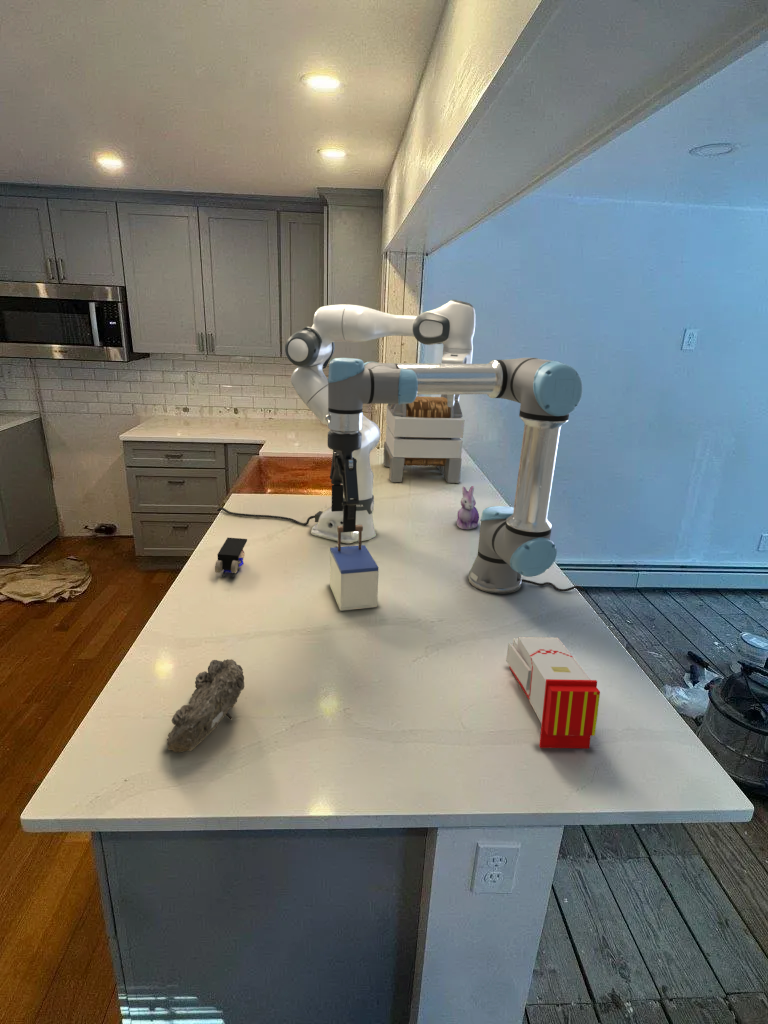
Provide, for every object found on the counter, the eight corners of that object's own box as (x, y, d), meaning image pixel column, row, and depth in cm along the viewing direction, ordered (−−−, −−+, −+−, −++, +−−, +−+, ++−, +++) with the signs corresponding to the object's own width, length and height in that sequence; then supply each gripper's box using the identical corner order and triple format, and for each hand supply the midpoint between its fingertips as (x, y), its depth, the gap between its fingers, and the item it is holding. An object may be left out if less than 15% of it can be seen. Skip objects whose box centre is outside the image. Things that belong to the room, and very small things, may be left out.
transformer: (382, 463, 289) (386, 382, 275) (445, 464, 293) (451, 384, 279) (390, 482, 257) (394, 392, 243) (460, 483, 261) (468, 394, 247)
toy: (554, 620, 129) (609, 687, 99) (549, 674, 131) (601, 755, 102) (501, 619, 128) (541, 686, 99) (497, 673, 131) (534, 754, 102)
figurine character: (238, 584, 162) (249, 557, 175) (236, 562, 158) (247, 536, 172) (215, 584, 161) (227, 556, 175) (212, 561, 158) (225, 535, 171)
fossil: (192, 660, 117) (244, 628, 112) (224, 691, 120) (276, 661, 115) (142, 746, 98) (202, 712, 93) (182, 779, 101) (242, 748, 96)
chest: (329, 585, 161) (330, 551, 157) (363, 582, 163) (365, 549, 160) (340, 610, 148) (340, 574, 144) (376, 607, 150) (378, 570, 147)
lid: (329, 550, 158) (330, 523, 155) (364, 548, 160) (365, 520, 157) (340, 574, 144) (341, 544, 141) (378, 570, 147) (379, 541, 144)
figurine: (464, 532, 204) (468, 492, 199) (449, 522, 212) (452, 484, 207) (486, 528, 208) (490, 489, 203) (469, 519, 216) (473, 481, 211)
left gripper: (452, 355, 180) (449, 399, 184) (440, 359, 161) (436, 408, 166) (472, 356, 178) (468, 400, 183) (462, 361, 160) (458, 410, 164)
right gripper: (318, 420, 135) (318, 504, 142) (339, 444, 113) (337, 542, 120) (349, 419, 137) (347, 502, 145) (375, 443, 115) (371, 539, 122)
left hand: (453, 404), depth 174 cm, fingers open, 8 cm apart
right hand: (342, 520), depth 132 cm, fingers open, 13 cm apart
